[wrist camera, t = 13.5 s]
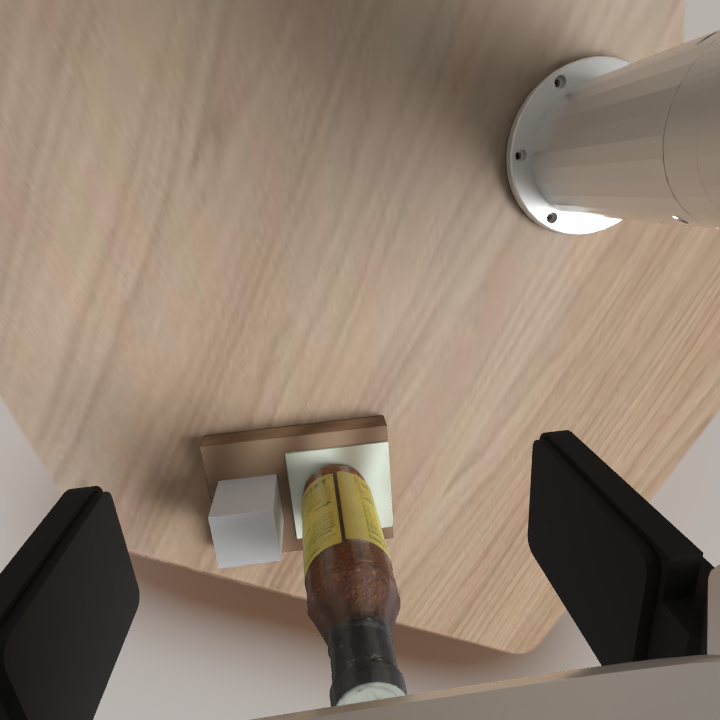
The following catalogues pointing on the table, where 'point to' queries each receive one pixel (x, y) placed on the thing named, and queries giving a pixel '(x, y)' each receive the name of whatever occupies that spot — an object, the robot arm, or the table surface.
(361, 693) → the sauce bottle
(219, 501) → the grey block
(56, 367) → the table surface
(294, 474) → the base board
